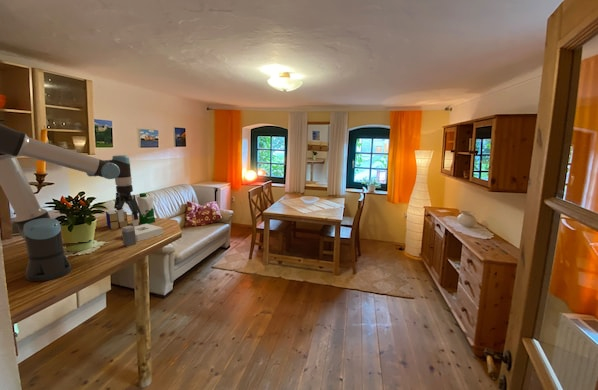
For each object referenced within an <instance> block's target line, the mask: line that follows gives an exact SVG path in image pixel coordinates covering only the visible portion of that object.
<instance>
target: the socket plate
mask: <svg viewBox="0 0 598 390" xmlns="http://www.w3.org/2000/svg"><path fill="white" fill-rule="evenodd" d="M134 227H135V238H136V243H138V242H141V241H144V240H147V239H151V238H154V236H155V237H157V236H160V235H161V234H162V235H163V233H164V232H163V231H164V229H163V227H161V226H157V225H153V224H151V223H150V224H140V225H136V226H134ZM120 233H121V237H122V238H123V234H122V229H121V230H120Z"/></svg>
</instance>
